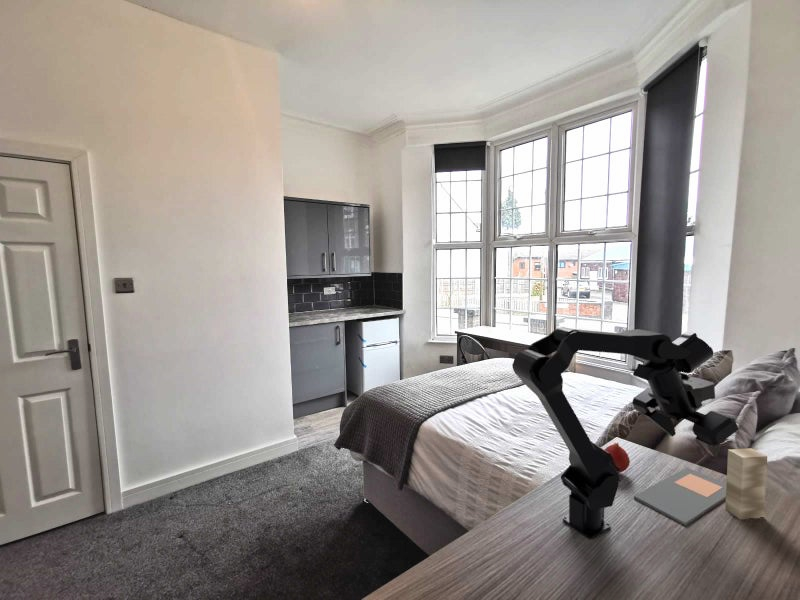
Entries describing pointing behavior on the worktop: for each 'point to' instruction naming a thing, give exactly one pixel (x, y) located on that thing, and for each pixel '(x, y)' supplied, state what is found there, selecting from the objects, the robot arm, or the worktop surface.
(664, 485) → the mat
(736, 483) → the cream block
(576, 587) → the worktop surface
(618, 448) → the onion
